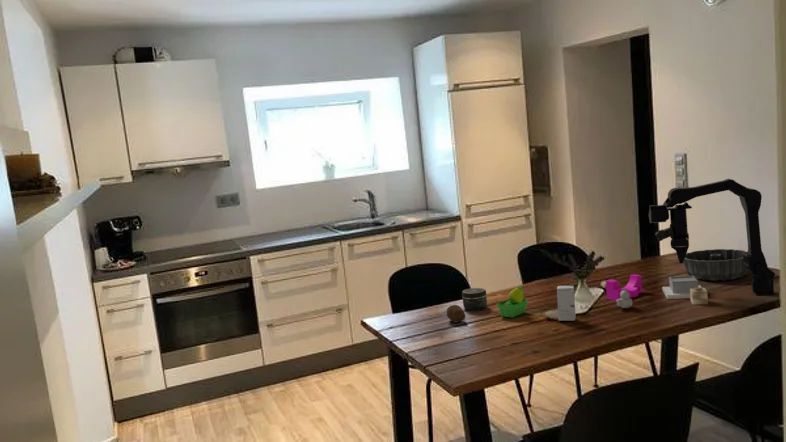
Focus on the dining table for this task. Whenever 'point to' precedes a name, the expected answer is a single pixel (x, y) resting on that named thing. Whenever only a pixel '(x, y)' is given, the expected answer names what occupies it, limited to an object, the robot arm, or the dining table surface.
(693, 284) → the grey square base plate
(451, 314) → the potato
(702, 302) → the snap block
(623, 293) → the rubber duck
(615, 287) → the toy block
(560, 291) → the skincare box
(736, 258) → the bundt pan
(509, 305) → the fruit basket
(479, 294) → the jar
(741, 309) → the dining table surface
